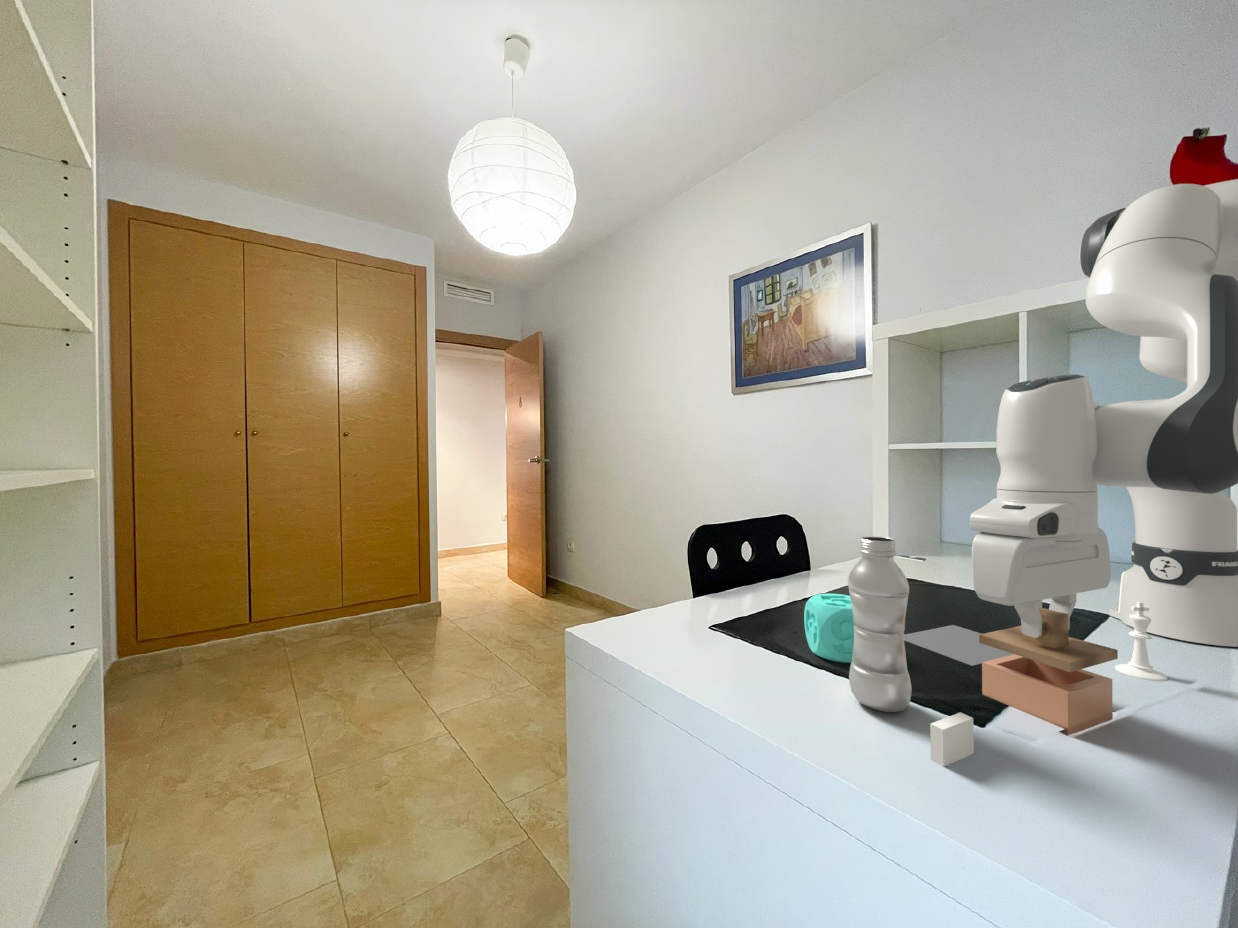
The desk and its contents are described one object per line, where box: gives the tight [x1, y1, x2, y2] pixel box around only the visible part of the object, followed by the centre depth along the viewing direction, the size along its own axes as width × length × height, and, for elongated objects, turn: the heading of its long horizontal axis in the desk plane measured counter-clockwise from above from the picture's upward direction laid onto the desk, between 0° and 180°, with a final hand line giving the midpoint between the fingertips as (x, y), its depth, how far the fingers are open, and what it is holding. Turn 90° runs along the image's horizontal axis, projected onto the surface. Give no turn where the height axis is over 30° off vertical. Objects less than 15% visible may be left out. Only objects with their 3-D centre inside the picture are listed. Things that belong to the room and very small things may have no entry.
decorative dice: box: [803, 593, 854, 664], centre depth 74 cm, size 8×8×8 cm
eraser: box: [929, 711, 975, 767], centre depth 48 cm, size 1×5×4 cm, turn 115°
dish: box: [981, 654, 1114, 736], centre depth 56 cm, size 8×8×4 cm
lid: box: [979, 607, 1119, 672], centre depth 56 cm, size 9×9×4 cm
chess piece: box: [1114, 602, 1169, 682], centre depth 64 cm, size 5×5×10 cm
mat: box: [904, 624, 1013, 667], centre depth 75 cm, size 14×12×1 cm
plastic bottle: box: [847, 536, 913, 713], centre depth 58 cm, size 6×7×20 cm
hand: (1045, 632), depth 56 cm, fingers closed on lid, 3 cm apart
